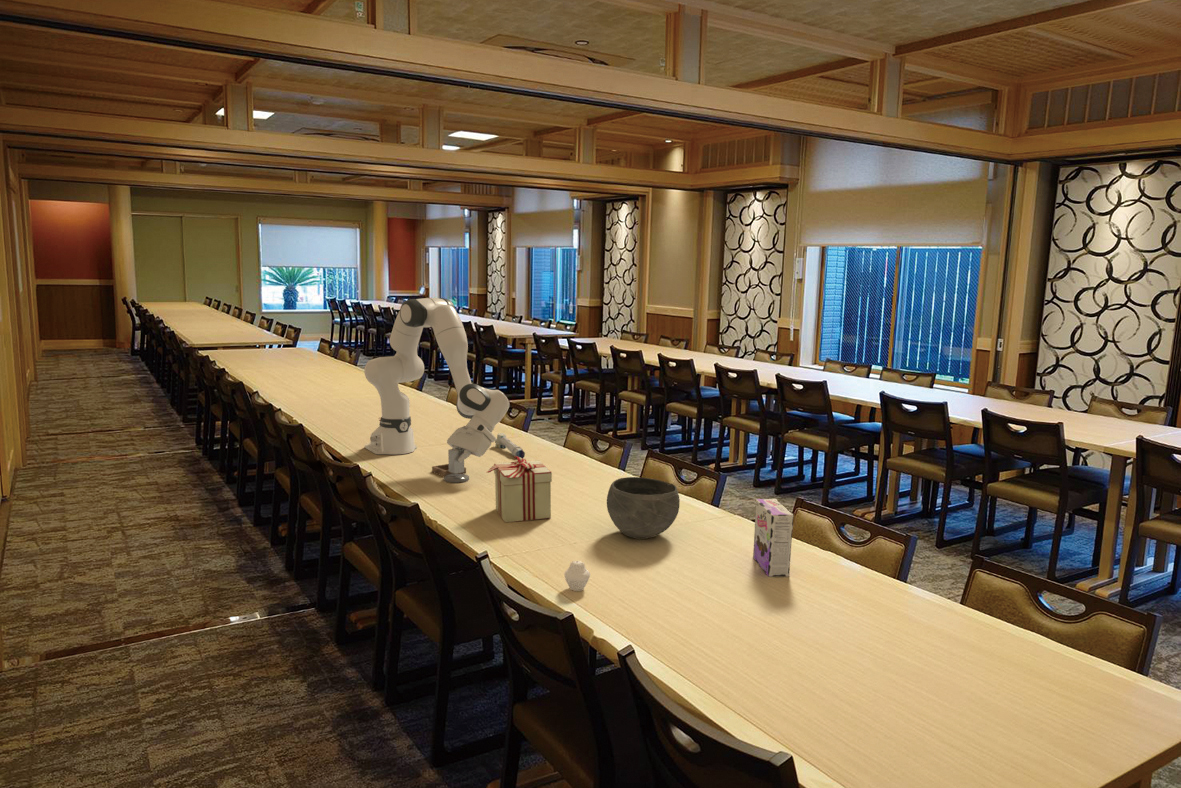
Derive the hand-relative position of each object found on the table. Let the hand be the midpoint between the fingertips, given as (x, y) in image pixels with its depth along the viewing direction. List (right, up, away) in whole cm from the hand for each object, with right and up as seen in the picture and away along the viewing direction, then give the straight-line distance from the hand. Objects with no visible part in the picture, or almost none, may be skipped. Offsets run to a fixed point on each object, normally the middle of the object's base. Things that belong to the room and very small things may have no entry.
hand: (454, 460), depth 284 cm
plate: (0, -7, +2) cm, 7 cm away
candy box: (+95, -22, -76) cm, 124 cm away
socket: (-4, -6, +11) cm, 13 cm away
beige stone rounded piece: (+45, -23, -93) cm, 106 cm away
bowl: (+63, -17, -53) cm, 85 cm away
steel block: (0, -4, +1) cm, 4 cm away
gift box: (+26, -14, -37) cm, 48 cm away
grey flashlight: (+15, -1, +46) cm, 48 cm away
